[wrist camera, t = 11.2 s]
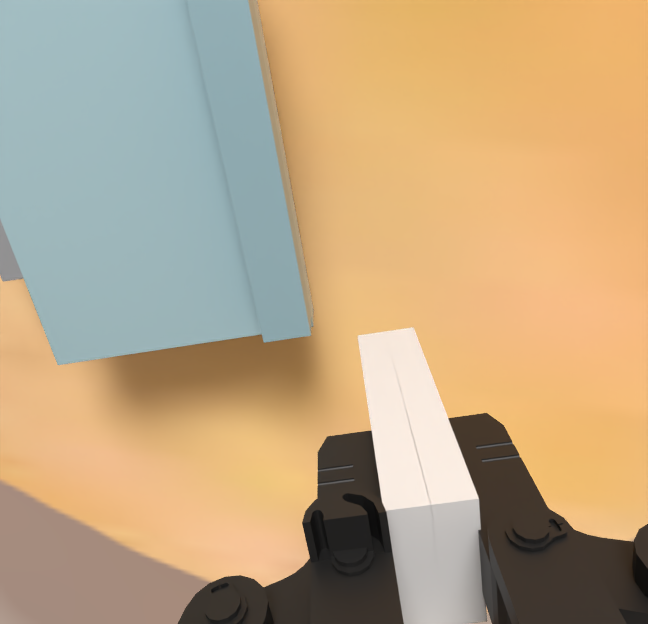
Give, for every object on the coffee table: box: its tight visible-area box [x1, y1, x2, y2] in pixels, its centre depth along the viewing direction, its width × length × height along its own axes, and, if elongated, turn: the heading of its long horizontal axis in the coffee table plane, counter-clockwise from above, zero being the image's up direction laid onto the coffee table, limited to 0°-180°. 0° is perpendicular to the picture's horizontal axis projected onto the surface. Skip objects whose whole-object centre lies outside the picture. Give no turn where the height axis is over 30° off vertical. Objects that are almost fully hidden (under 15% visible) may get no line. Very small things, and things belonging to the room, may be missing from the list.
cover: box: [0, 0, 314, 365], centre depth 24 cm, size 13×19×8 cm
